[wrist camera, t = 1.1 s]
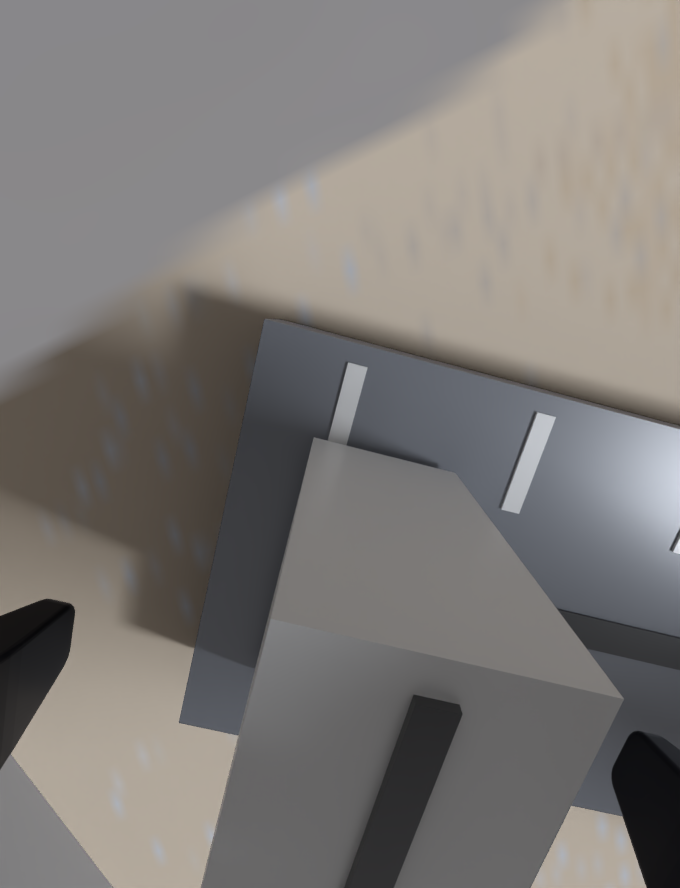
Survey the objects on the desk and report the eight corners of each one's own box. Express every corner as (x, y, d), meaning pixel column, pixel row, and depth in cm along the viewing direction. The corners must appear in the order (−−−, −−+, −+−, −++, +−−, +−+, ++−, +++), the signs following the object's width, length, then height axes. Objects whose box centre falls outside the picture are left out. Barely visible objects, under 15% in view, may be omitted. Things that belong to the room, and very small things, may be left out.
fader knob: (455, 473, 10) (631, 708, 4) (376, 706, 11) (414, 1136, 5) (313, 437, 10) (268, 627, 4) (252, 678, 11) (149, 1093, 5)
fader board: (995, 509, 13) (1151, 554, 10) (812, 787, 15) (903, 877, 13) (280, 319, 12) (263, 318, 9) (206, 653, 14) (177, 724, 12)
